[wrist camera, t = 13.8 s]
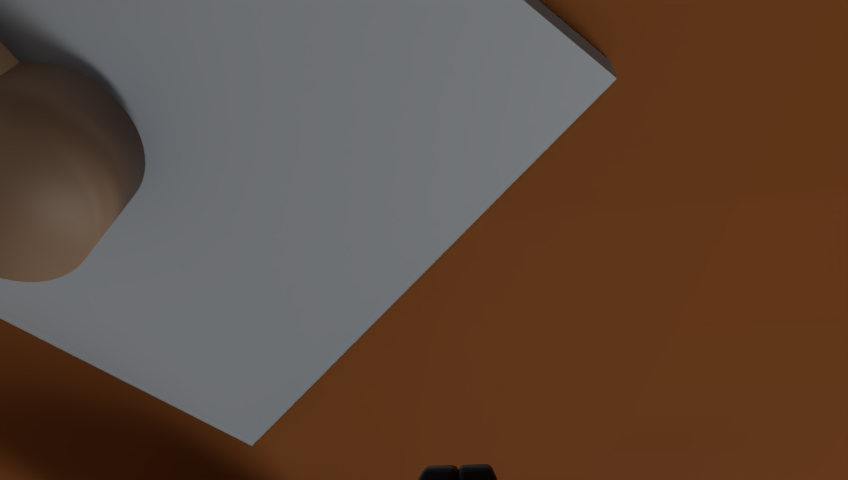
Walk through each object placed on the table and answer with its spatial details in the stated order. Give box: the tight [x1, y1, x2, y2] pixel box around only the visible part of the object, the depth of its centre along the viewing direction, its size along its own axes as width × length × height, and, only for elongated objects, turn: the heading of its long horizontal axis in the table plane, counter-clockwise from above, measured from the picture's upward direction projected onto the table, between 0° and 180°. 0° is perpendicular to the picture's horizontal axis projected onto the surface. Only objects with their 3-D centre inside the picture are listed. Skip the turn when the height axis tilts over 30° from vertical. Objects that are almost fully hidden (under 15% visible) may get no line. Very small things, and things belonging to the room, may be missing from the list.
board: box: [0, 0, 617, 446], centre depth 19 cm, size 18×20×1 cm
